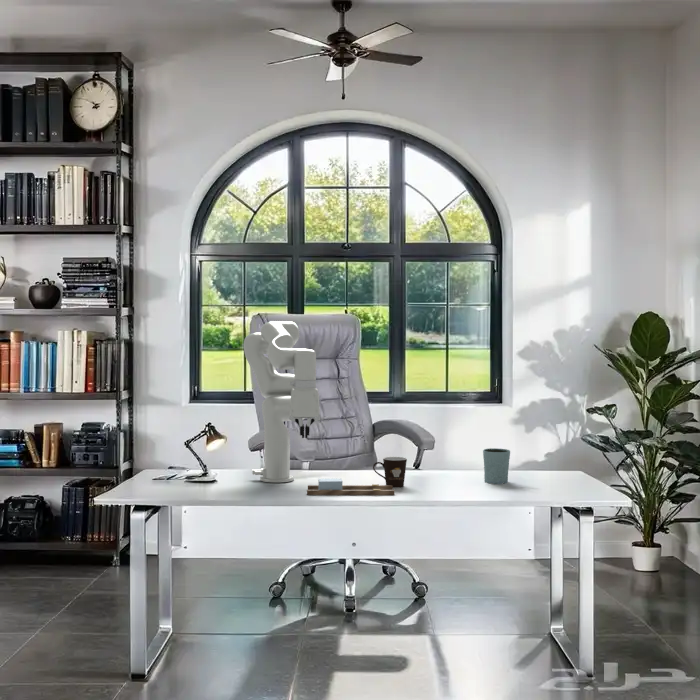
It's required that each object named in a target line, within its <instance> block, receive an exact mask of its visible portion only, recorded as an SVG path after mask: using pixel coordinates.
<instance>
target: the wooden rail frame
mask: <svg viewBox="0 0 700 700" xmlns="http://www.w3.org/2000/svg"><path fill="white" fill-rule="evenodd" d="M393 488H394V487H393V486H392V485H386V484H385V485H384V484H381V485H380V484H374V483H371V484H370V485H367V484H365V485H364V484H361V485H360V484H357V485H356V484H355V485H354V484H351V485H350V484H349V485H348V484H347V485H346V484H342V490H332V489H329V490H318V484H307V489H306V495H308V496H395V489H393Z"/></svg>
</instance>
